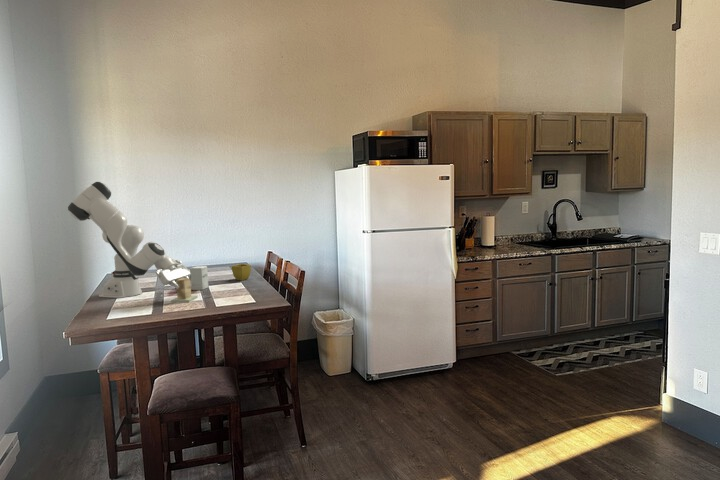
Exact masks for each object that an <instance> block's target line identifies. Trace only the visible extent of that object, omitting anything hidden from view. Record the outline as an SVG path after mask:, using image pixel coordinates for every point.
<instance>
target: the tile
mask: <svg viewBox="0 0 720 480" xmlns="http://www.w3.org/2000/svg"><path fill="white" fill-rule="evenodd" d="M196 299H198V295H191V297H190V298H187V299H178V298H177V297H174V298H173V299H171V300H170V302H171V303H190V302H192V301H194V300H196Z"/></svg>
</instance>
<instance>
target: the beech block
mask: <svg viewBox="0 0 720 480" xmlns="http://www.w3.org/2000/svg"><path fill="white" fill-rule="evenodd" d="M190 282H191V277H189V278H181V279H178V280H176V282H175V283H176V284H179V285H180V288H179V289H176V296H177V298H178V299H187V298H190V297H191V296H192V290H191V284H190Z"/></svg>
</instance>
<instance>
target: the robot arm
mask: <svg viewBox="0 0 720 480" xmlns="http://www.w3.org/2000/svg"><path fill="white" fill-rule="evenodd" d="M111 191H112V190H111V189H110V187H109V186H108V185H106V184H105V183H103V182H101V181H94V182H93V183H91V185H90V186H88V187H86V188H85V189H84V190H82V191H81V192H80V194H78V196H77V197H76V198H75V199H74V200H73V202H70V203H69V205H68V206H67V211H68V212H69V214H70V216H71V217H72V218H73V219H76V220H78V221H81V222H82V221H83V222H84V221H87V220H92V222H93V223H94V224H96V225H97V226H98V227H99V229H100V230H101V232H102V234H101V235H102V236H101V237H102V239H103V241H104V242H105V243H107V244H109V245H110V247H111V248H112V249H113V250H114V252H115V253H116V254H115V255H114V270H113V271H112V272H111V275H112V277H111V278H110V279H108V281H107V282H105V284H104V285H103V287H102V293H100V294H99V295H98V298H111V299H113V298H114V299H122V298H127V297H132V296H133V297H134V296H139V295H141V294H142V293H143V291H142V288H141V286H140V281H139V277H141V276H144V275H145V274H146V273H147V272H148V271H149V270H150V268H152V267H153V266H154V267H155V268H156V270H155V274H156V276H157V278H158V279H159V281H160V283H162V284H163V285H164V286H168V285H170V286H171V287H174V288H175V289H176V290H177V289H179V288H180V285H179V284H176V280H178V279H181V278H190V275H191V273H190V269H188V267H186V266H185V265H184V264H183V261H181V260H179V259H173V258H171V257H170V256H169V255H167V253H166V251H165V250H164V248H163V247H162V246H161V245H160V244H158V243H156V242H155V241H148V242H146V243H145V244H144V245H143V246H142V248H141V249H140V250H139V252H137V251H138V249H139V246H140V244H141V243H142V242H143V240H144V238H145V231H144V229H143V228H141V227H140V226H136V225H132V224H128V219H127V217H126V216H125V215H124V213H123V212H121V211H120V210H119V208H118V207H116V206H114V205H113V204H112V203H110V202H109V199H110V198H111V197H112V192H111ZM190 284H191V281H190Z"/></svg>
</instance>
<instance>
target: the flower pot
mask: <svg viewBox="0 0 720 480" xmlns="http://www.w3.org/2000/svg"><path fill="white" fill-rule="evenodd" d="M251 268H252V264H245V263H240V264H239V263H238V264H235V265H231V272H232V275H233V277H234V279H236V281H245V280H248V279H249V278H250V275H251V270H252V269H251Z"/></svg>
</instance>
